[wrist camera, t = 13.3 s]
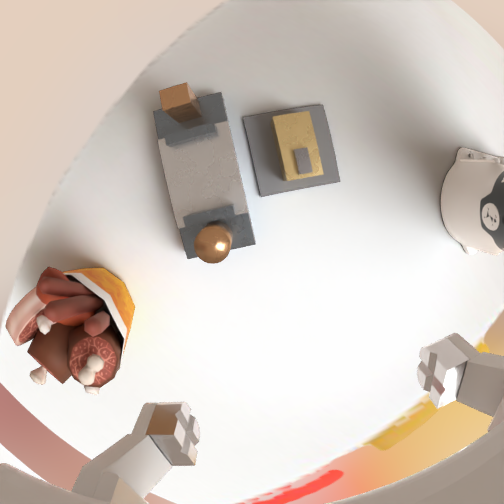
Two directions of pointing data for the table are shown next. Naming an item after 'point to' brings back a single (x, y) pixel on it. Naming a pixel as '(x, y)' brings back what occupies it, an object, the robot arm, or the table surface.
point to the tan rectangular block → (296, 146)
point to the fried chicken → (74, 325)
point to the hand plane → (202, 174)
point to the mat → (268, 158)
